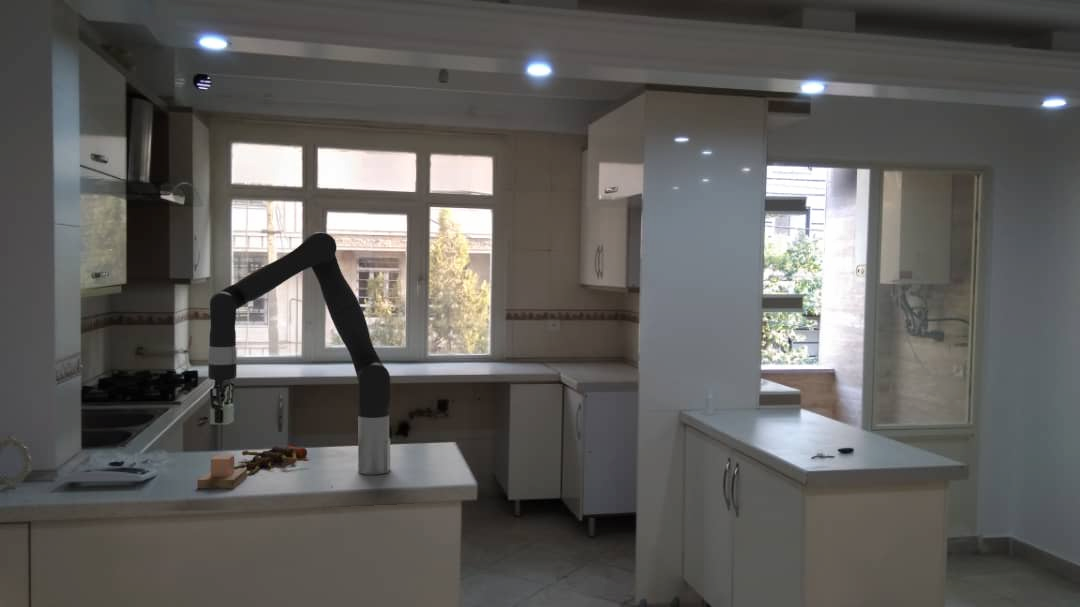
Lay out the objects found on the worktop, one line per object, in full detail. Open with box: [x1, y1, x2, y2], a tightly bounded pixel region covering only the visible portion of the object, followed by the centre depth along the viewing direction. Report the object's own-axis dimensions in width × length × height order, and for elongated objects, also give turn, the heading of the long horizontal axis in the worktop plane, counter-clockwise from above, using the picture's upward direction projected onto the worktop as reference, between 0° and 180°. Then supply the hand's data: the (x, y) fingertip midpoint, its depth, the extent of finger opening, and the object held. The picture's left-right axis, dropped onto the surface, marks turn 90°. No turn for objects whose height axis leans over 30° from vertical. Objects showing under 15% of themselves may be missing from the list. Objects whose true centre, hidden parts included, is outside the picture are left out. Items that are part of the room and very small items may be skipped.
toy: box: [234, 445, 309, 476], centre depth 263 cm, size 26×6×30 cm
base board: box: [196, 468, 248, 489], centre depth 242 cm, size 10×12×2 cm
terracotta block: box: [210, 454, 235, 477], centre depth 241 cm, size 5×5×5 cm
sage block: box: [209, 403, 235, 425], centre depth 241 cm, size 5×5×5 cm
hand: (222, 420), depth 241 cm, fingers closed on sage block, 5 cm apart
